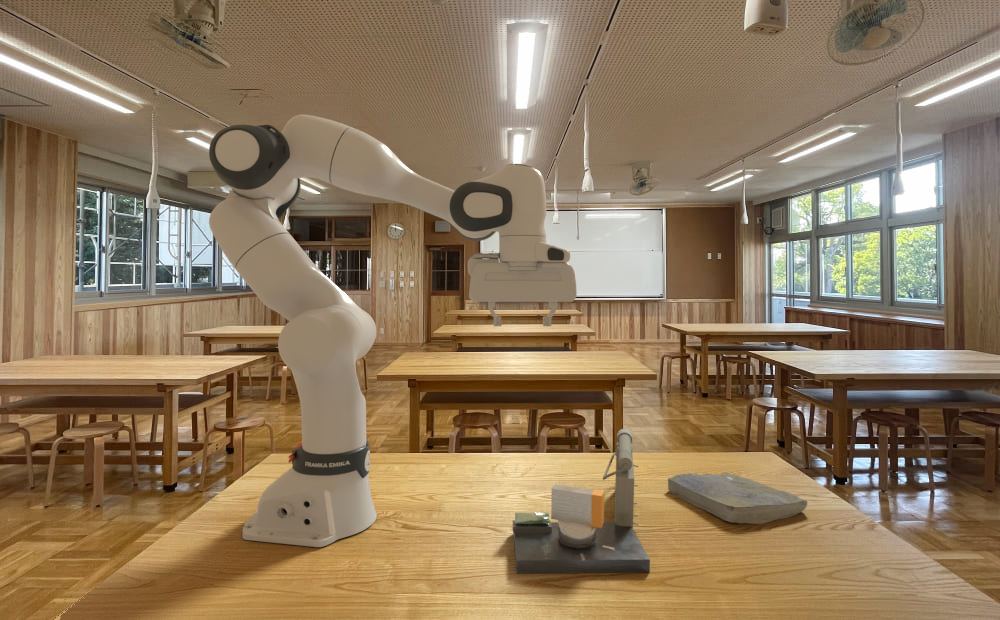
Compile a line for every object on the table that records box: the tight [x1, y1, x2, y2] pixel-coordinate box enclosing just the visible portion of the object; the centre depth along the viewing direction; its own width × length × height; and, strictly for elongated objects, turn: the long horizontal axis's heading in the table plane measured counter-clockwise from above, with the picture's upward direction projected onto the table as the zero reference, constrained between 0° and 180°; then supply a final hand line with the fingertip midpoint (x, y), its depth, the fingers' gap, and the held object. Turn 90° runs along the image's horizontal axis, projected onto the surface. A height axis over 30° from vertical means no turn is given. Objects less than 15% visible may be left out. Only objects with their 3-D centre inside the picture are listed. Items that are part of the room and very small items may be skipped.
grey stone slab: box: [667, 472, 808, 525], centre depth 102 cm, size 20×5×17 cm
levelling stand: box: [512, 511, 651, 574], centre depth 83 cm, size 20×12×5 cm, turn 91°
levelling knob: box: [550, 483, 605, 548], centre depth 83 cm, size 8×6×8 cm
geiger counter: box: [602, 428, 639, 530], centre depth 100 cm, size 14×6×25 cm
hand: (522, 326), depth 98 cm, fingers open, 8 cm apart
